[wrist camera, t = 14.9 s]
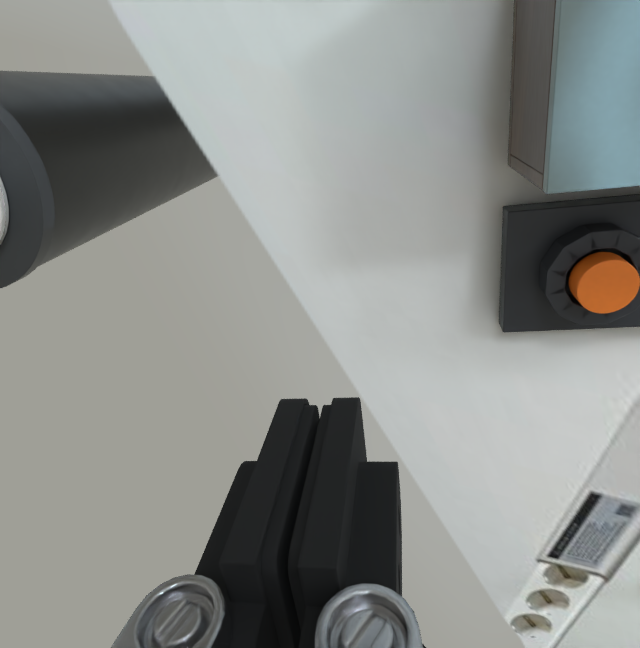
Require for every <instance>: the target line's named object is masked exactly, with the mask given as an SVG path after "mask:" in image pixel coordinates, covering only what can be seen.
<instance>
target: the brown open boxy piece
mask: <svg viewBox="0 0 640 648" xmlns="http://www.w3.org/2000/svg"><path fill="white" fill-rule="evenodd" d="M555 9H556V0H514V20H513V45H512V71H511V96H510V122H509V147H508V166H510V167H511V168H513V169H514V170H515V171H517V172H518V173H519V174H521V175H522V176H524V177H525V178H526V179H528V180H529V181H530V182H532V183H533V184H534V185H536V186H537V187H538V188H540V189H541V190H543V179H544V165H545V151H546V136H547V122H548V108H549V94H550V80H551V65H552V51H553V37H554V23H555Z"/></svg>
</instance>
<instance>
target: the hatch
mask: <svg viewBox="0 0 640 648" xmlns="http://www.w3.org/2000/svg"><path fill="white" fill-rule="evenodd" d="M632 186H640V0H556V9H555V23H554V37H553V51H552V65H551V80H550V94H549V108H548V122H547V136H546V151H545V165H544V179H543V192H545V193H546V194H556V193H567V192H578V191H589V190H600V189H611V188H622V187H632Z"/></svg>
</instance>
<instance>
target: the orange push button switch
mask: <svg viewBox="0 0 640 648" xmlns="http://www.w3.org/2000/svg"><path fill="white" fill-rule="evenodd" d="M597 252H611V253H615V254H617V255H619V256H620V257H622V258H623V259H624V260H626V261H627V262H628V263H629V264H631V265H632V266H633V267H634V268H635V269H636V270H637V272H638V274H639V278H640V194H638V195H627V196H615V197H604V198H593V199H582V200H570V201H559V202H548V203H537V204H526V205H514V206H504V207H503V225H502V252H501V279H500V307H499V324H500V326H501V329H502V331H503V332H525V331H549V330H572V329H595V328H619V327H640V286H639V290H638V292H637V294H636V296H635V297H634V299H633V300H632V301H631V302H630V303H629V304H628V305H626V306H625V307H624V308H622V309H620V310H618V311H615V312H611V313H594V312H591V311H589V310H587V309H585V308H584V307H583V306H582V305H581V304H580V303H579V302H578V300H577V299H576V298H575V297H574V295H573V294H572V293H571V291H570V288H569V276H570V273H571V271H572V269H573V268H574V266H575V265H576V264H577V263H578V262H579V261H580V260H581V259H583V258H584V257H586V256H588V255H590V254H593V253H597Z"/></svg>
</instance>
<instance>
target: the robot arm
mask: <svg viewBox="0 0 640 648" xmlns="http://www.w3.org/2000/svg"><path fill="white" fill-rule="evenodd" d="M8 223H9V206H8V200H7V195H6V191H5V188H4V185H3V183H2V180H1V177H0V245H1V243H2V241H3V239H4V237H5V235H6V233H7V228H8ZM401 533H402V531H401V500H400V484H399V470H398V462H367V457H366V448H365V439H364V429H363V420H362V411H361V402H360V398H333V401H332V404H331V405H324V406H323V408H322V412H321V417H320V418H319V412H318V408H317V406H316V405H309V402H308V400H307V399H281V400H280V402H279V404H278V407H277V410H276V412H275V415H274V417H273V420H272V423H271V425H270V428H269V431H268V433H267V436H266V439H265V441H264V444H263V447H262V449H261V452H260V454H259V457H258V460H257V461H245V462H243V463H242V464H241V466H240V467H239V469H238V471H237V474H236V476H235V479H234V481H233V484H232V486H231V488H230V491H229V493H228V495H227V498H226V500H225V503H224V505H223V508H222V510H221V512H220V515H219V517H218V519H217V522H216V524H215V527H214V529H213V532H212V534H211V536H210V539H209V541H208V543H207V546H206V548H205V551H204V553H203V555H202V558H201V560H200V562H199V565H198V567H197V570H196V572H195V574H194V575H183V576H179V577H175V578H172V579H170V580H169V581H166V582H164V583H162V584H161V585H159V586H158V587H157V588H155V589H154V590H153V591H152V592H150V593H149V594H148V595H147V596H146V597H145V598H144V599H143V601H142V602H141V603H140V604H139V606H138V607H137V608H136V610H135V611H134V613H133V614H132V616H131V617H130V619H129V620H128V622H127V624H126V625H125V626H124V628H123V629H122V631H121V633H120V634H119V636H118V637H117V639H116V640H115V642H114V643H113V645H112V647H111V648H426V647H425V646H424V645H423V644H422V640H421V634H420V629H419V625H418V622H417V620H416V617H415V614H414V611H413V610H412V608H411V607H410V606H409V604H408V603H407V602H406V600H405V599H404V598H403V597H402V534H401Z"/></svg>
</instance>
